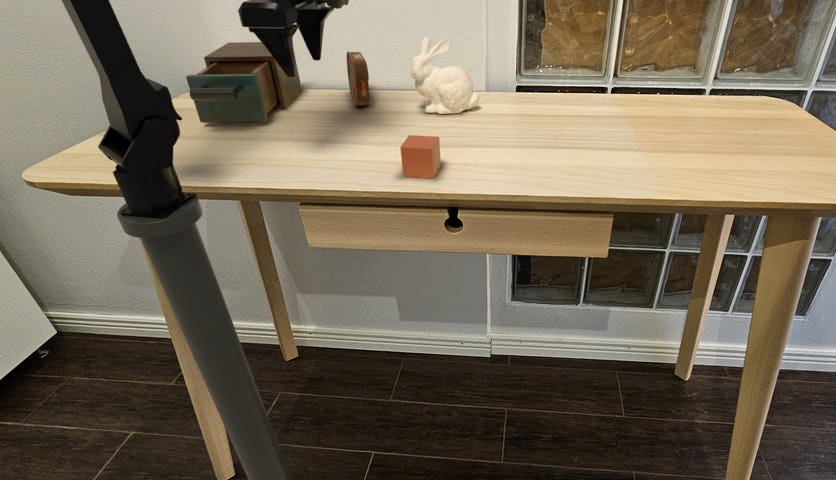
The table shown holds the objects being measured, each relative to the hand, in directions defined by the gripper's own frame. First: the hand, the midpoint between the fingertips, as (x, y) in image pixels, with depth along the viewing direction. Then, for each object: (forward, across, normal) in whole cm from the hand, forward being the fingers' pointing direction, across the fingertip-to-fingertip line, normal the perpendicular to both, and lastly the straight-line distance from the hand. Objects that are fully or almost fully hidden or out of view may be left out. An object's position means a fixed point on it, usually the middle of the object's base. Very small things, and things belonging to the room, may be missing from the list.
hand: (304, 68), depth 79 cm
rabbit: (+12, +20, -16) cm, 28 cm away
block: (+12, -7, -19) cm, 23 cm away
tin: (+12, +24, +1) cm, 27 cm away
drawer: (+11, +9, +19) cm, 24 cm away
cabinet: (+12, +21, +21) cm, 32 cm away
